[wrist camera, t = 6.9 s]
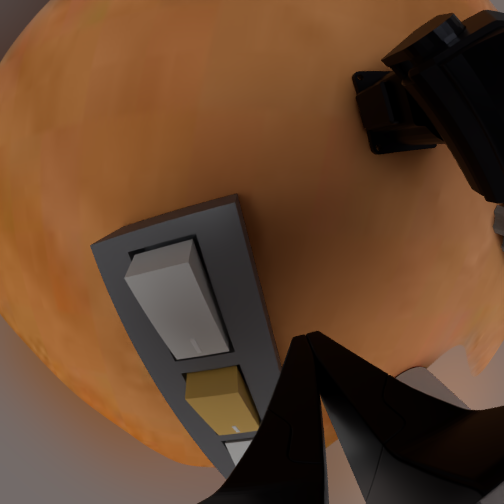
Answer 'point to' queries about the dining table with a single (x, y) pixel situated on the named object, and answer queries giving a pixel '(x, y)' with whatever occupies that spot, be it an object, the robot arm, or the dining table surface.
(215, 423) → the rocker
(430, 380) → the cup
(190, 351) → the rocker
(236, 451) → the rocker
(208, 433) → the rocker switch panel
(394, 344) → the dining table surface
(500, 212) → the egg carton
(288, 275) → the dining table surface
